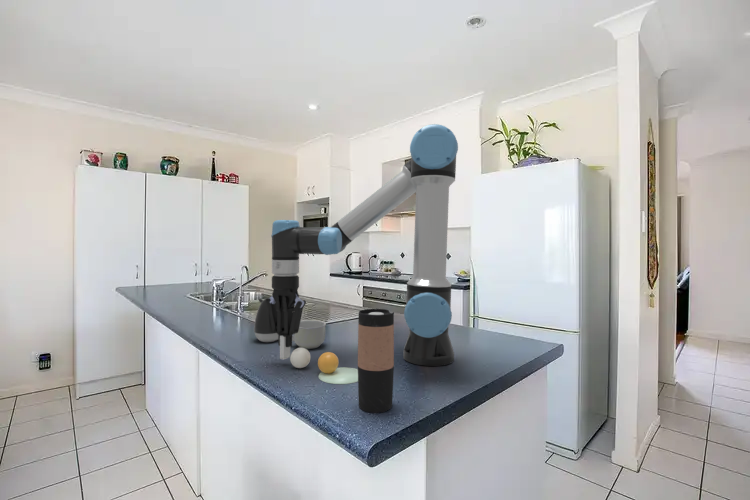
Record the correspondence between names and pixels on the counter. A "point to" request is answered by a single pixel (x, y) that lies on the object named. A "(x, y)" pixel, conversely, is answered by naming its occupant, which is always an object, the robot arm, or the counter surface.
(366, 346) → the travel mug
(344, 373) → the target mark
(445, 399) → the counter surface
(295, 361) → the cue ball
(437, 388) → the counter surface
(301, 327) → the teacup
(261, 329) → the black and grey ovoid
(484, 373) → the counter surface
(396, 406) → the counter surface
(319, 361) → the orange ball
